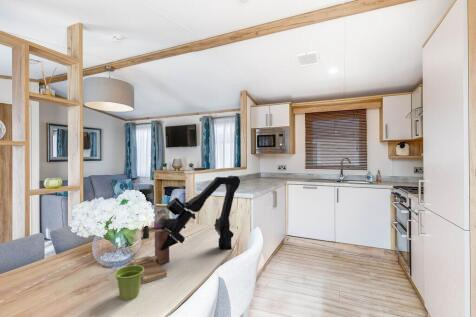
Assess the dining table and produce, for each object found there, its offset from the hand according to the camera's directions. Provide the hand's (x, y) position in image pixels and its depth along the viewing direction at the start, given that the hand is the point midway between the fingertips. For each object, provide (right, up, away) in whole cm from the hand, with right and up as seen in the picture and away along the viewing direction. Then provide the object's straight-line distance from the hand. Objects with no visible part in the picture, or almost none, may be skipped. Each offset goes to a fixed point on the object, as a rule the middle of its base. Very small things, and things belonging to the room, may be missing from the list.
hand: (159, 248), depth 110 cm
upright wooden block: (-2, -7, -2) cm, 7 cm away
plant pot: (-1, -7, -27) cm, 27 cm away
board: (-3, -7, -7) cm, 10 cm away
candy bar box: (-16, -7, +57) cm, 60 cm away
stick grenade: (-20, -7, +36) cm, 42 cm away
